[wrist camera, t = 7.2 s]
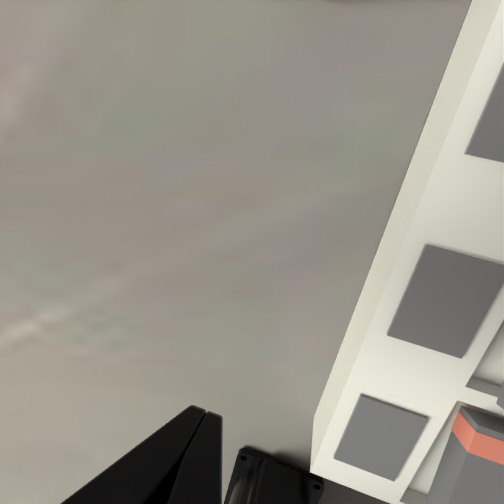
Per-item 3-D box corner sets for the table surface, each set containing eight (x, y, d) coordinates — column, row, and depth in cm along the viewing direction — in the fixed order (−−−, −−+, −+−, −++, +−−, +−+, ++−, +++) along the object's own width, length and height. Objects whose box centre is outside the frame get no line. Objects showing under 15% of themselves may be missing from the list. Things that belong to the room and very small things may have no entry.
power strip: (468, 473, 20) (500, 550, 16) (313, 417, 22) (309, 475, 18) (753, 41, 12) (956, -12, 8) (472, -2, 14) (529, -63, 10)
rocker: (485, 547, 16) (506, 583, 14) (417, 520, 16) (429, 552, 14) (532, 429, 15) (560, 453, 13) (460, 405, 15) (477, 425, 14)
